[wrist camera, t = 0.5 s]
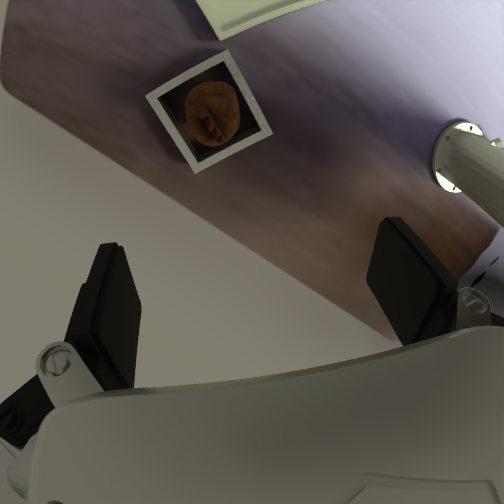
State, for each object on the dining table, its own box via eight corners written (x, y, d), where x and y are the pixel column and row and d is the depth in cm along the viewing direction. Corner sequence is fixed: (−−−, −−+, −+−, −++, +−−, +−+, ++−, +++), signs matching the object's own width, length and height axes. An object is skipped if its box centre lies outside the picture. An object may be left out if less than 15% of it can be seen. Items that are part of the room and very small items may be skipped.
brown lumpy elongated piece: (184, 83, 32) (165, 101, 20) (232, 75, 33) (243, 87, 21) (194, 134, 37) (184, 181, 25) (240, 126, 37) (254, 169, 25)
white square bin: (226, 49, 31) (227, 49, 28) (268, 128, 37) (273, 133, 35) (150, 92, 32) (144, 96, 30) (196, 165, 39) (195, 174, 37)
